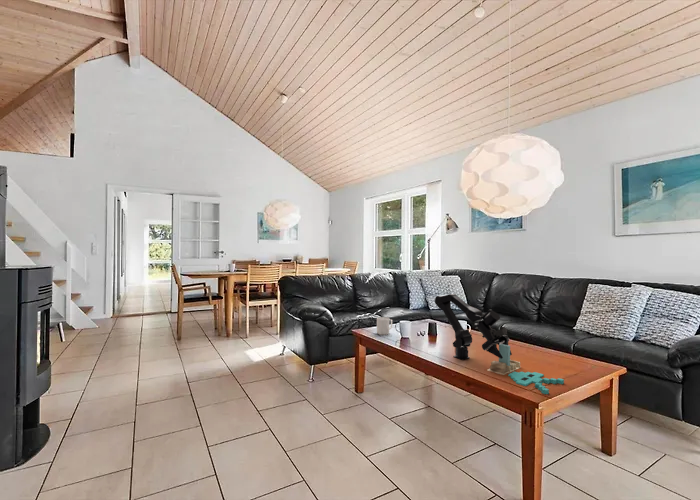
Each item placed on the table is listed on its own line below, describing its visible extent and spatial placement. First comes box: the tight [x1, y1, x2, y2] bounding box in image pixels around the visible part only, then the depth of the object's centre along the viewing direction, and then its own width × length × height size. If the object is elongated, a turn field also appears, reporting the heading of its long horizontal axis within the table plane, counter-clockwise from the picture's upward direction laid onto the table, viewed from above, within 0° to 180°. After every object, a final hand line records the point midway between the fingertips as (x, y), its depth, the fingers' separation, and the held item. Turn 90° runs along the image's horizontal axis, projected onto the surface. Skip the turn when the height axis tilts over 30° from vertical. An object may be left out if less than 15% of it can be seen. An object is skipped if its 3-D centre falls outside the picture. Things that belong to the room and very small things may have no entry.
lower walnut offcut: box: [489, 365, 508, 374], centre depth 185 cm, size 7×4×2 cm, turn 40°
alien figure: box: [507, 370, 565, 395], centre depth 173 cm, size 20×2×20 cm
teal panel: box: [498, 344, 511, 366], centre depth 189 cm, size 5×2×12 cm, turn 40°
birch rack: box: [487, 359, 522, 376], centre depth 189 cm, size 9×18×4 cm, turn 130°
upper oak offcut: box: [490, 360, 506, 369], centre depth 185 cm, size 6×4×2 cm, turn 46°
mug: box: [376, 316, 393, 336], centre depth 265 cm, size 12×9×11 cm
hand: (506, 356), depth 188 cm, fingers open, 9 cm apart
